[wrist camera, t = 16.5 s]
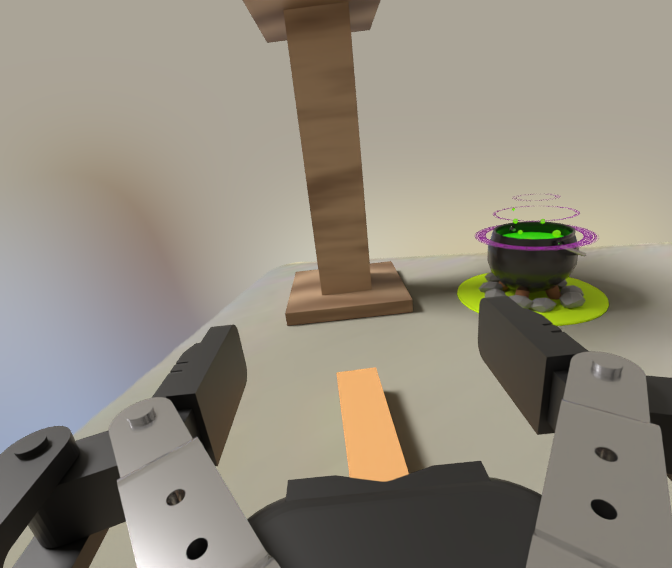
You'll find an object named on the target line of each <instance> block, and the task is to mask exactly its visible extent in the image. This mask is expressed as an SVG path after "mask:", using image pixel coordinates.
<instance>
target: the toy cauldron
mask: <svg viewBox="0 0 672 568" xmlns="http://www.w3.org/2000/svg"><path fill="white" fill-rule="evenodd" d="M555 197H556V196H555ZM560 208H561V207H560ZM562 208H563V207H562ZM504 210H505V209H504ZM512 210H513V211H514V210H515V208H514V207H513V208H512ZM497 212H498V211H497ZM576 212H577V210H576ZM578 214H579V213H578ZM494 215H496V213H494ZM575 215H577V214H575ZM575 215H574V216H575ZM572 217H573V216H572ZM498 218H499V217H498ZM569 218H571V217H569ZM565 219H566V218H565ZM507 220H508V219H507ZM518 221H520V220H517V219H514V220H513V223H508V224H503V225H500V226H497V227H496V228H494V227H492V229H490V227H489V231H491V230H493V233H492V236H491V239H490V240H489V239H487V238H486V233H487V232H489V231H487V230H488V229H486V230H485V231H484V230H483V231H482V232H480V233H483V232H484V233H485V234H480V233H479V232H478V233H479V234H480V235H485V237H484V236H483V237H479V235H478V237H479V239H480V240H482V239H484V240H486V239H487V240H489V241H487V240H486V241H487V243H489V244H487V243H486V244H487V245H488V263H489V266H490V269H491V271H492V272H491V273H486V274H481V275H478V276H475V277H472V278H470V279H468V280H466V281H464V282H463V283H462V284H461V285H460V286H459V288H458V292H457V295H458V298H459V300H460V301H461V302H462V303H463V304H464V305H465V306H467V307H468V308H469V309H471V310H473V311H475V312H477V313H479V304H480V301H481V299H482V298H486V297H496V296H505V295H506V296H508V297H510V298H511V299H512V300H513V301H515V302H516V303H517V304H518V305H519V306H521V307H522V308H527V309H529V310H532V311H534V312H537V313H539V314H541V315H543V316H544V317H545V318H547V319H548V320H549V321H551V322H552V323H553V325H556V326H563V325H572V324H578V323H583V322H587V321H590V320H593V319H595V318H598V317H600V316H601V315H602V314H604V313H605V312H606V311H607V309H608V307H609V302H608V298H607V297H606V295H605V294H604V293H603V292H602V291H600V290H599V289H598V288H596V287H594V286H592V285H590V284H588V283H586V282H583V281H580V280H578V279H574V278H570V277H569V276H570V274H571V272H572V271H573V269H574V268H575V266H576V264H577V258H578V254H579V255H581V256H586V253H583V252H581V251H579V246H578V245H580V246H583V245H584V243H586V245H587V244H590V242H589V241H587V240H589V239H588V238H590V241H591V239H592V238H593V235H594V239H593V240H595V238H596V236H597V235H596V236H595V234H594V232H593V233H592V232H591V233H592V234H593V235H591V236H590V235H589V237H588V235H587V236H586V235H584V234H587V233H590V231H589V232H587V233H583V232H584V231H585V232H586V229H585V230H583V228H582V229H580V230H581V233H582V234H583V235H584V237H583V239H582V240H585V239H587V240H585V241H586V242H584V241H583V245H581V244H582V242H581V243H580V241H582V240H580V241H578V242H577V239H576V236H575V230H577V229H578V228H577V229H576V228H575V226H574V227H572V226H569V225H564V224H560V223H552V222H545V219H542V220H541V221H540V222H537V221H528V222H518ZM511 226H512V227H511ZM580 230H577V231H579V232H580ZM587 231H588V230H587ZM478 233H477V234H478ZM591 233H590V234H591ZM477 234H476V235H477ZM585 237H587V238H585ZM479 239H478V240H479ZM596 239H597V238H596ZM484 240H482V241H484ZM593 240H592V241H593ZM482 241H481V242H482ZM486 241H484V242H486ZM592 241H591V242H592ZM587 242H589V243H587ZM579 243H580V244H579Z"/></svg>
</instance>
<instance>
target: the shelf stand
mask: <svg viewBox="0 0 672 568" xmlns="http://www.w3.org/2000/svg"><path fill="white" fill-rule="evenodd" d="M243 2H244V3H245V5H246V7H247V9H248V10H249V12H250V14H251V15H252V17H253V19H254V21H255V22H256V24H257V25H258V27H259V29H260V31H261V33H262V34H263V36H264V38H265V40H266V41H267V42H268V43H269V42H276V41H285V40H287V41H288V49H289V56H290V64H291V71H292V78H293V86H294V93H295V100H296V108H297V115H298V122H299V130H300V137H301V144H302V152H303V159H304V167H305V173H306V181H307V189H308V196H309V203H310V211H311V218H312V226H313V232H314V240H315V248H316V254H317V262H318V270H309V271H300V272H296V274H295V278H294V282H293V285H292V289H291V293H290V297H289V301H288V305H287V309H286V313H285V315H286V321H287V326H289V325H298V324H307V323H317V322H326V321H335V320H344V319H353V318H362V317H372V316H381V315H390V314H399V313H408V312H413V301H412V298H411V296H410V294H409V293H408V291H407V289H406V287H405V285H404V284H403V282H402V280H401V278H400V276H399V274H398V273H397V271H396V269H395V267H394V265H393V264H392V262H391V261H390V262H381V263H372V264H370V262H369V250H368V238H367V225H366V213H365V201H364V188H363V176H362V163H361V151H360V138H359V126H358V115H357V101H356V89H355V76H354V64H353V53H352V39H351V32H357V31H365V30H370V28H371V25H372V22H373V19H374V16H375V14H376V11H377V8H378V5H379V3H380V0H243Z"/></svg>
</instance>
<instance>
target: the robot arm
mask: <svg viewBox="0 0 672 568" xmlns="http://www.w3.org/2000/svg"><path fill="white" fill-rule="evenodd" d="M478 347H479V351H480V355H481V357H482V359H483V361H484V362H485V363H486V365H487V366H488V368H489V369H490V370H491V372H492V373H493V374H494V376H495V377H496V378H497V380H498V381H499V383H500V384H501V385H502V387H503V388H504V389H505V391H506V392H507V394H508V395H509V396H510V398H511V399H512V400H513V402H514V403H515V405H516V406H517V407H518V409H519V410H520V411H521V413H522V414H523V416H524V417H525V418H526V420H527V421H528V422H529V424H530V425H531V426H532V428H533V429H534V431H535V432H536V433H537V435H539V434H549V433H555V434H554V439H553V444H552V449H551V454H550V459H549V464H548V468H547V473H546V478H545V483H544V488H543V493H542V495H541V494H539V493H537V492H535V491H533V490H531V489H528V488H526V487H524V486H521V485H518V484H515V483H512V482H509V481H505V480H501V479H497V478H490V477H489V476H488V474H487V472H486V470H485V468H484V466H483V464H482V462H481V461H474V462H464V463H454V464H444V465H434V466H431V467H428V468H425V469H422V470H419V471H416V472H413V473H411V474H408V475H405V476H402V477H399V478H396V479H393V480H390V481H385V482H382V481H374V480H366V479H358V478H351V477H343V476H325V477H315V478H305V479H295V480H288V486H287V494H286V497H285V498H283V499H280V500H278V501H276V502H273V503H271V504H269V505H267V506H266V507H264V508H262V509H261V510H259V511H257V512H256V513H255V514H253V515H252V516H251V517H249V518H248V519H246V517H245V515H244V514H243V512H242V510H241V509H240V507H239V505H238V504H237V502H236V500H235V499H234V497H233V495H232V494H231V492H230V490H229V489H228V487H227V485H226V484H225V482H224V480H223V479H222V477H221V475H220V474H219V472H218V470H217V469H216V467H215V466H218V464H219V461H220V458H221V455H222V452H223V449H224V446H225V443H226V440H227V438H228V435H229V432H230V429H231V426H232V423H233V420H234V417H235V414H236V412H237V409H238V406H239V403H240V400H241V397H242V394H243V391H244V388H245V386H246V382H247V367H246V362H245V358H244V354H243V350H242V346H241V341H240V337H239V333H238V330H237V327H236V326H235V325H226V326H217V327H211V328H210V329H209V331H208V332H207V334H206V335H205V337H204V338H203V340H202V341H201V343H196V344H194V345H193V346H192V347H190V348H189V349H188V350H186V351H185V352H184V353H183V354H182V355H181V357H180V358H179V360H178V361H177V363H176V365H174V367H173V368H172V370H171V371H170V372H171V373H169V374H168V375H167V377H166V378H165V380H164V381H163V382H162V384H161V385H160V387H159V388H158V390H157V391H156V392H155V394H154V395H153V397H152V398H149V399H145V400H142V401H139V402H137V403H135V404H133V405H131V406H129V407H127V408H126V409H124V410H123V411H121V412H120V413H119V414H118V415H117V416H116V417H115V418H114V419H113V420H112V422H111V424H110V426H109V430H108V431H105V432H102V433H99V434H96V435H93V436H89V437H86V438H83V439H80V440H77V441H75V439H74V437H73V435H72V433H71V431H70V429H69V428H67V427H64V426H54V427H48V428H45V429H42V430H39V431H36V432H34V433H32V434H29V435H27V436H25V437H24V438H22V439H20V440H18V441H17V442H15V443H14V444H12V445H11V446H10V447H8V448H7V449H6V450H5V451H4V452H3V453H1V454H0V568H3V565H4V561H5V558H6V556H7V554H8V552H9V550H10V549H11V547H12V546H13V544H14V543H15V542H16V540H17V539H18V538H19V536H20V535H21V533H22V532H23V531H24V529H25V528H26V527H27V525H28V526H29V527H30V529H31V531H32V532H33V534H34V537H33V539H32V540H31V542H30V543H29V545H28V546H27V547H26V549H25V550H24V552H23V553H22V555H21V556H20V557H19V559H18V560H17V562H16V563H15V565H14V566H13V567H12V568H89V566H90V564H91V562H92V560H93V558H94V556H95V554H96V552H97V551H98V549H99V547H100V545H101V543H102V541H103V539H104V537H105V535H106V533H107V531H108V529H109V528H110V527H112V526H115V525H118V524H120V523H123V522H125V521H126V523H127V527H128V531H129V535H130V539H131V544H132V548H133V552H134V556H135V560H136V564H137V568H672V513H671V505H670V497H669V489H668V481H667V477H668V478H669V479H670V480H671V481H672V378H667V377H655V376H646V375H645V373H644V371H643V370H642V369H641V368H640V367H639V366H638V365H637V364H635V363H633V362H632V361H630V360H628V359H625V358H623V357H620V356H617V355H614V354H609V353H604V352H589V351H588V350H586V349H585V348H584V347H582V346H581V345H580V344H579V343H577V342H576V341H575V340H574V339H572V338H571V337H570V336H568V335H567V334H566V333H565V332H562V331H561V329H559V328H558V327H557V326H556V325H553V323H552V322H551V321H549V320H548V319H547V318H545V317H544V316H543V315H541V314H539V313H537V312H534V311H532V310H529V309H527V308H522V307H521V306H519V305H518V304H517V303H516V302H515V301H513V300H512V299H511V298H510V297H508V296H506V295H505V296H496V297H486V298H482V299H481V301H480V304H479V326H478Z"/></svg>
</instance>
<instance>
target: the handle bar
mask: <svg viewBox="0 0 672 568" xmlns="http://www.w3.org/2000/svg"><path fill="white" fill-rule="evenodd" d="M337 381H338V389H339V397H340V405H341V413H342V420H343V428H344V436H345V444H346V452H347V460H348V467H349V475H350V477H351V478H358V479H366V480H374V481H382V482H385V481H390V480H393V479H396V478H399V477H402V476H405V475H408V474H409V472H408V469H407V466H406V463H405V459H404V456H403V453H402V450H401V447H400V443H399V440H398V437H397V434H396V431H395V427H394V424H393V421H392V418H391V414H390V411H389V408H388V405H387V402H386V398H385V395H384V392H383V389H382V386H381V382H380V379H379V376H378V373H377V370H376V368H368V369H360V370H353V371H345V372H338V373H337Z"/></svg>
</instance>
